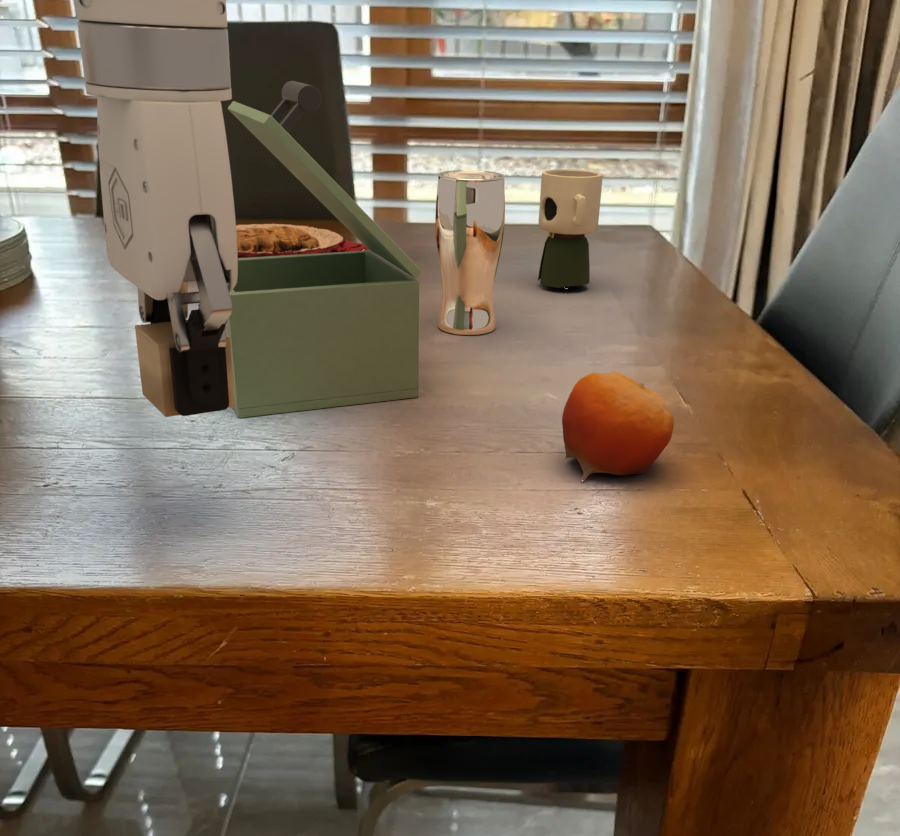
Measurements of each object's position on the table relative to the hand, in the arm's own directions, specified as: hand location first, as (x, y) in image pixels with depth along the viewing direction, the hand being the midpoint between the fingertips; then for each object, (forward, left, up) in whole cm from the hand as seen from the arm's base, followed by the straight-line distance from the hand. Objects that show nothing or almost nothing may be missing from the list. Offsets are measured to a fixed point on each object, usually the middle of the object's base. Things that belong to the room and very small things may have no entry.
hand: (187, 395), depth 61 cm
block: (0, 0, 0) cm, 0 cm away
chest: (+10, +24, -8) cm, 27 cm away
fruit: (+30, +2, -8) cm, 31 cm away
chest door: (+11, +24, +8) cm, 28 cm away
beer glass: (+28, +40, -8) cm, 49 cm away
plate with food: (+9, +79, -8) cm, 80 cm away
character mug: (+44, +56, -8) cm, 71 cm away
